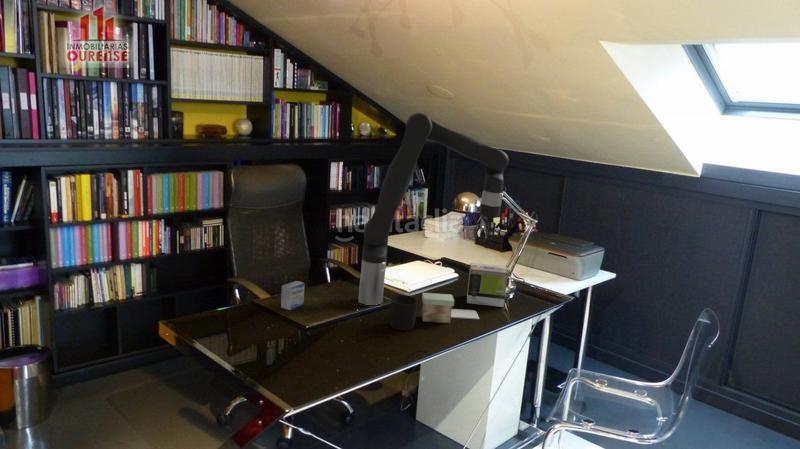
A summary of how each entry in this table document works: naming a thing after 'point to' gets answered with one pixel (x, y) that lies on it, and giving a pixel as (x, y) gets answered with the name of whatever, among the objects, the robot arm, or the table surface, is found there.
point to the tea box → (487, 284)
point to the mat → (464, 314)
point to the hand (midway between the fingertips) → (484, 244)
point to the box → (436, 313)
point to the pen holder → (403, 312)
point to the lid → (438, 299)
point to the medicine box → (292, 295)
